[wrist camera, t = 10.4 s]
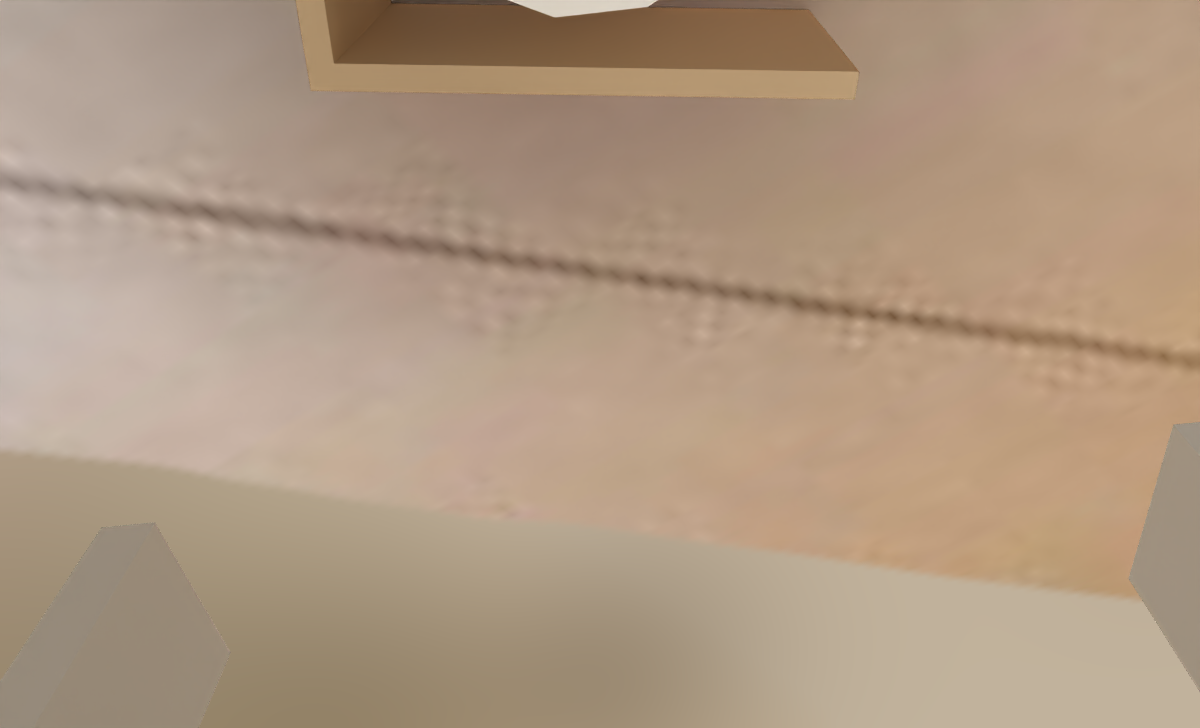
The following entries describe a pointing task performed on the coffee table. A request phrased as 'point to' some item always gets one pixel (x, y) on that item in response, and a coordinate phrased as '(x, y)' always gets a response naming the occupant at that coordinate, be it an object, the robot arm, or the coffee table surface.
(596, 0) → the foam cup
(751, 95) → the carton
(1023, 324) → the coffee table surface
